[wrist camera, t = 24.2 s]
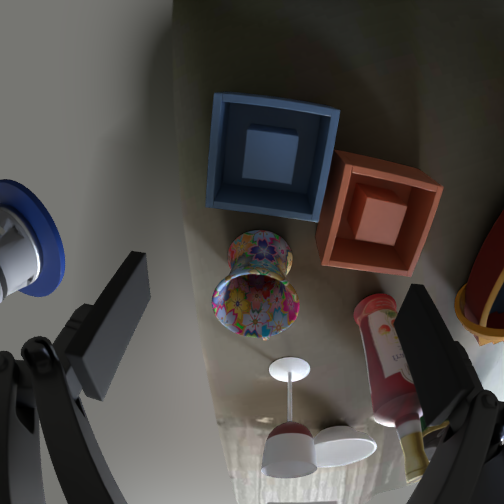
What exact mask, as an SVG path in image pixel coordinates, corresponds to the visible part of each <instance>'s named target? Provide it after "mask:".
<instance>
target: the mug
mask: <svg viewBox="0 0 504 504" xmlns="http://www.w3.org/2000/svg"><path fill="white" fill-rule="evenodd" d="M292 259H293V258H292V252H291V249H290V247H289V246H288V244H287V243H286V241H285V240H284V239H283V238H281V237H280V236H278V235H277V234H275V233H272V232H269V231H265V230H254V231H249V232H246V233H244V234H242V235H240V236H239V237H237V238H236V239H235V240H234V242H233V243H232V244H231V246H230V248H229V251H228V264H229V267H230V269H231V272H230V274H229V275H228V276H227V277H226V278H224V279H223V280H222V281H221V282H220V283H219V284H218V285H217V287H216V288H215V290H214V293H213V296H212V308H213V311H214V314H215V315H216V317H217V319H218V320H219V321H220V322H221V323H222V324H223V325H224V326H225V327H226V328H228V329H229V330H231V331H233V332H235V333H237V334H240V335H243V336H248V337H262V339H263V340H268V339H269V336H272V335H275V334H278V333H280V332H282V331H284V330H285V329H287V328H288V327H289V326H290V325H291V324H292V323H293V322H294V320H295V319H296V317H297V315H298V312H299V298H298V295H297V293H296V291H295V289H294V288H293V286H292V285H291V284H290V283H289V282H288V281H287V278H286V275H287V274H288V272H289V271H290V268H291V266H292Z"/></svg>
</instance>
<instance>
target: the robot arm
mask: <svg viewBox="0 0 504 504" xmlns="http://www.w3.org/2000/svg"><path fill="white" fill-rule="evenodd" d="M43 262H44V260H43V252H42V248H41V244H40V241H39V239H38V237H37V235H36V233H35V231H34V229H33V227H32V226H31V224H30V223H29V221H28V220H27V219H26V218H25V217H24V215H23V214H22V213H20V212H19V211H18V210H17V209H15V208H14V207H12V206H10V205H7V204H0V303H1V302H2V301H3V300H4V298H5V297H6V296H7V295H9V294H11V293H13V292H15V291H17V290H19V289H21V288H23V287H26V286H28V285H30V284H32V283H33V282H34V281H35V280H36V279H37V278H38V277H39V275H40V274H41V272H42V269H43ZM150 297H151V296H150V288H149V279H148V270H147V260H146V253H141V252H134V251H131V252H130V254H129V255H128V257H127V258H126V259H125V261H124V262H123V263H122V265H121V266H120V268H119V269H118V270H117V272H116V273H115V275H114V276H113V278H112V279H111V280H110V282H109V283H108V285H107V286H106V287H105V289H104V290H103V292H102V293H101V295H100V296H99V298H98V299H97V301H96V302H95V304H94V305H89V304H83V305H82V306H80V307H79V308H78V309H76V310H75V311H74V313H73V314H72V316H71V317H70V320H68V322H67V323H66V325H65V327H64V328H63V329H62V331H61V332H60V334H59V335H58V337H57V338H56V340H55V341H54V343H53V344H51V342H50V340H49V339H47V338H46V337H42V336H38V337H34V338H31V339H29V340H28V341H27V342H26V343H25V344H24V345H23V347H22V349H21V356H22V357H23V359H24V360H15V359H14V357H13V355H12V354H11V353H10V352H8V351H0V504H46V503H45V496H44V489H43V481H42V471H41V458H40V441H39V419H40V423H41V427H42V430H43V434H44V438H45V441H46V445H47V448H48V451H49V454H50V458H51V461H52V463H53V466H54V469H55V472H56V475H57V478H58V480H59V483H60V485H61V488H62V491H63V493H64V495H65V498H66V500H67V503H68V504H127V502H126V501H125V499H124V497H123V495H122V493H121V491H120V489H119V487H118V486H117V484H116V482H115V480H114V478H113V476H112V474H111V472H110V470H109V468H108V465H107V464H106V461H105V459H104V457H103V455H102V452H101V450H100V448H99V446H98V443H97V441H96V439H95V436H94V434H93V431H92V429H91V426H90V424H89V421H88V418H87V416H86V413H85V410H84V408H83V405H82V402H81V399H80V397H79V394H80V392H81V390H82V389H83V391H84V393H85V395H86V396H87V397H90V398H93V399H96V400H99V401H103V400H104V398H105V395H106V393H107V390H108V388H109V386H110V384H111V381H112V379H113V377H114V375H115V372H116V370H117V368H118V366H119V363H120V361H121V359H122V357H123V355H124V352H125V350H126V348H127V345H128V344H129V341H130V339H131V337H132V335H133V333H134V331H135V329H136V327H137V325H138V323H139V320H140V319H141V317H142V314H143V312H144V310H145V308H146V306H147V304H148V302H149V300H150ZM393 325H394V328H395V331H396V333H397V336H398V339H399V341H400V344H401V347H402V350H403V353H404V356H405V358H406V361H407V364H408V367H409V370H410V373H411V376H412V379H413V383H414V386H415V389H416V392H417V395H418V399H419V402H420V405H421V409H422V412H423V416H424V419H425V423H426V427H431V426H437V425H441V424H442V423H443V422H444V421H445V420H446V419H447V418H448V420H449V424H448V425H447V426H446V427H445V428H444V429H443V430H442V431H441V432H440V433H439V434H438V435H437V437H440V436H441V435H442V434H443V435H442V437H441V440H440V442H439V444H438V446H437V448H436V450H435V452H434V454H433V457H432V459H431V461H430V463H429V465H428V466H427V468H426V470H425V472H424V474H423V476H422V478H421V480H420V481H419V483H418V485H417V487H416V489H415V490H414V492H413V494H412V495H411V497H410V499H409V500H408V502H407V504H504V444H503V445H502V440H503V439H504V402H501V401H498V399H497V397H496V396H495V394H493V393H492V392H491V391H489V390H484V389H483V387H482V384H481V382H480V380H479V378H478V375H477V373H476V371H475V369H474V367H473V366H472V363H471V361H470V359H469V356H468V354H467V352H466V350H465V349H464V347H463V346H462V345H461V344H460V343H459V342H458V341H454V340H453V338H452V336H451V334H450V332H449V330H448V328H447V327H446V325H445V323H444V321H443V319H442V317H441V315H440V313H439V312H438V310H437V308H436V306H435V304H434V302H433V301H432V299H431V297H430V295H429V294H428V292H427V290H426V288H425V287H424V285H420V284H411V286H410V288H409V290H408V293H407V295H406V297H405V299H404V302H403V304H402V306H401V308H400V310H399V312H398V315H397V317H396V319H395V321H394V323H393Z"/></svg>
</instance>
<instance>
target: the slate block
mask: <svg viewBox="0 0 504 504" xmlns="http://www.w3.org/2000/svg"><path fill="white" fill-rule="evenodd" d="M298 141H299V135H298V133H297V131H296V129H290V128H284V127H277V126H269V125H261V124H253V123H251V125H250V126H249V128H248V129H247V134H246V144H245V153H244V162H243V171H242V178H249V179H257V180H265V181H272V182H279V183H286V184H292V178H293V172H294V166H295V160H296V154H297V147H298Z"/></svg>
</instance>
